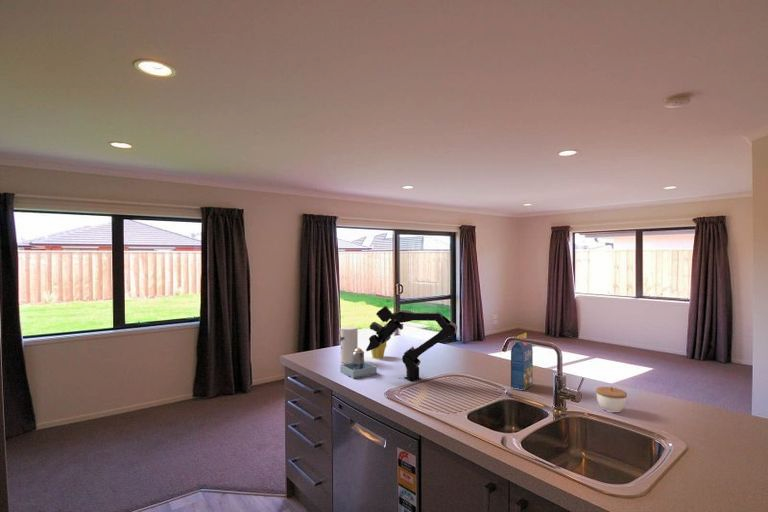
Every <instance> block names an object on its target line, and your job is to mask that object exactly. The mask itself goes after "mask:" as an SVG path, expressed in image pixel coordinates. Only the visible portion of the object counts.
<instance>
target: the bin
mask: <svg viewBox="0 0 768 512" xmlns="http://www.w3.org/2000/svg"><path fill="white" fill-rule="evenodd" d="M339 366H340V371H339V372H340V373H341V372H342V373H341V374H343V373H344V374H343V375H345V374H346V375H345V376H347V375H348V376H347V377H349V376H350V377H349V378H351V377H352V378H355V379H358V378H357V377H360V378H363V377H362V376H365V377H368V376H367V375H370V376H374V375H373V374H375V375H377V372H378V371H377V369H378V368H377V365H374V364H371V363H369V362H367V361H365V360H364V369H359V370H353V363H341V364H340V365H339ZM352 378H351V379H352Z"/></svg>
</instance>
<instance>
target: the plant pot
mask: <svg viewBox="0 0 768 512" xmlns="http://www.w3.org/2000/svg"><path fill="white" fill-rule="evenodd" d="M386 348H387V342H385V343H383V344H381V345H380V346H379V347H378V348H375V349H372V350H370V352H371V355H372V356H371V357H372V359H374V358H381V359H383V358H384V356H385V350H386Z"/></svg>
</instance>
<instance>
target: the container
mask: <svg viewBox="0 0 768 512" xmlns="http://www.w3.org/2000/svg"><path fill="white" fill-rule="evenodd" d="M358 333H359V331H358V327H357V326H354V325H353V326H352V325H351V326H349V325H348V326H342V327H340V363H342V362H343V363H342V364H347V363H353V351H354V350H355V349H356V348H359V347H358V345H359V344H358V338H359V337H358V336H359V335H358Z"/></svg>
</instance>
